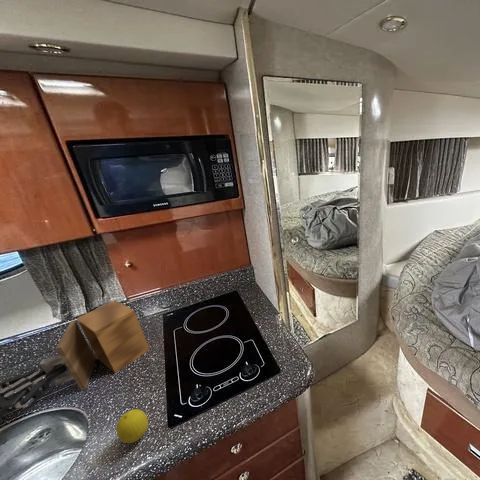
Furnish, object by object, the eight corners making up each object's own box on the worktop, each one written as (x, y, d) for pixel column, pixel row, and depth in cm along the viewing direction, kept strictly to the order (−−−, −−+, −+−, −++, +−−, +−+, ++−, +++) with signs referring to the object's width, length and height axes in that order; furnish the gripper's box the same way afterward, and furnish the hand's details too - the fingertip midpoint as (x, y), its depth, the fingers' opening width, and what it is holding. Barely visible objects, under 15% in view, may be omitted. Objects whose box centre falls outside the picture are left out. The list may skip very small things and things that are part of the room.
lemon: (150, 419, 61) (139, 397, 58) (154, 437, 57) (143, 414, 54) (122, 436, 58) (109, 414, 55) (125, 457, 54) (112, 434, 51)
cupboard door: (57, 400, 67) (28, 357, 61) (72, 367, 77) (48, 327, 71) (86, 389, 69) (60, 346, 63) (96, 359, 79) (75, 319, 73)
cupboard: (115, 373, 74) (94, 331, 68) (97, 358, 80) (76, 318, 74) (150, 349, 82) (134, 310, 76) (131, 337, 88) (114, 300, 81)
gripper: (-39, 431, 49) (70, 362, 64) (-60, 404, 55) (44, 347, 69) (-18, 453, 52) (82, 383, 67) (-40, 426, 58) (57, 366, 72)
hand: (62, 365), depth 68 cm, fingers closed on cupboard door, 2 cm apart
